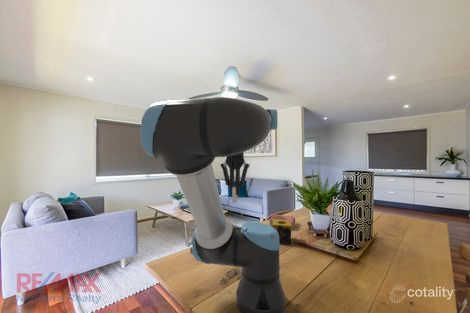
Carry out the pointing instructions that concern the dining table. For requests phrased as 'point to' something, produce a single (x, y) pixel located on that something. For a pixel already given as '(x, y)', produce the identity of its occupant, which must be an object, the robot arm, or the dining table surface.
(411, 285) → the dining table surface
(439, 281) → the dining table surface
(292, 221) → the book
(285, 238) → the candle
